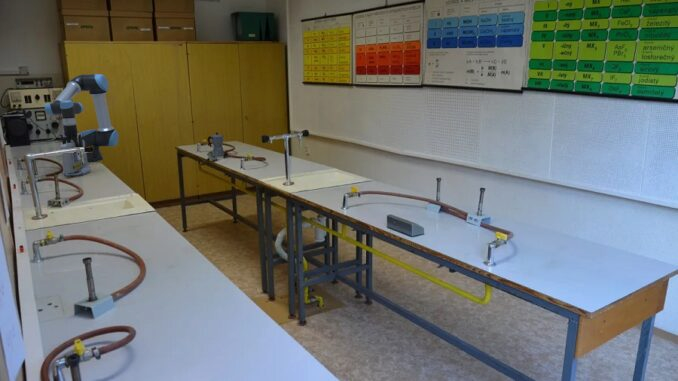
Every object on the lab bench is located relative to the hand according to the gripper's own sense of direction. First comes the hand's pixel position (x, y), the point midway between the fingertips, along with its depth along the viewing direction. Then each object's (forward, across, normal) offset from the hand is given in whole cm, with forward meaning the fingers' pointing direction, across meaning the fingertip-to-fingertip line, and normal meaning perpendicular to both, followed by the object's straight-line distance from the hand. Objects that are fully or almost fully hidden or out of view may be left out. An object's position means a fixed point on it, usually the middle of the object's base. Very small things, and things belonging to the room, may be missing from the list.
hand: (75, 159), depth 328 cm
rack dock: (+10, 0, 0) cm, 10 cm away
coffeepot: (+10, +80, +60) cm, 101 cm away
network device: (+8, 0, 0) cm, 8 cm away
